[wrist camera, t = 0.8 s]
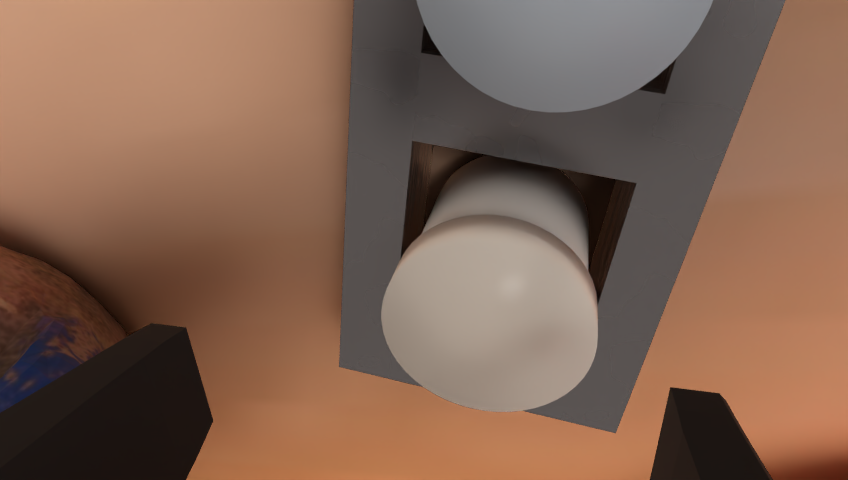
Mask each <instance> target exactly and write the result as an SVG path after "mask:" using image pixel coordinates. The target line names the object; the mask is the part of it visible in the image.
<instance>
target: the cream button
mask: <svg viewBox="0 0 848 480" xmlns="http://www.w3.org/2000/svg"><path fill="white" fill-rule="evenodd" d="M588 239H589V220H588V212H587V208H586V204H585V202H584V200H583V197H582V195H581V193H580V192H579V190H578V188H577V187H576V186H575V184H574V183H573V182H572V181H571V180H570V179H569V178H568V177H567V176H566V175H565V174H564V173H563V172H562V171H560V170H559V169H557V168H554V167H549V166H543V165H538V164H533V163H528V162H522V161H517V160H512V159H506V158H501V157H496V156H490V155H487V156H483V157H480V158H478V159H475V160H472V161H471V162H469V163H467V164H465V165H463V166H462V167H461V168H459V169H458V170H457V171H456V172H455V173H454V174H453V175H452V176H450V178H449V179H448V180H447V181H446V183H445V184H444V186H443V188H442V189H441V191H440V193H439V195H438V198H437V200H436V202H435V205H434V207H433V209H432V211H431V214H430V216H429V218H428V221H427V223H426V225H425V227H424V230H423V232H422V234H421V235H420V236H419V237H418V238H417V239H416V240H415V241H413V242H412V243H411V245H410V246H409V247H408V248H407V250H406V251H405V252H404V254H403V256H402V258H401V260H400V261H399V263H398V266H397V268H396V270H395V272H394V274H393V276H392V279H391V281H390V283H389V285H388V287H387V290H386V292H385V295H384V298H383V303H382V309H381V321H382V328H383V333H384V336H385V339H386V342H387V344H388V346H389V349H390V351H391V353H392V354H393V356H394V357H395V359H396V360H397V362H398V363H399V364H400V366H401V367H402V368H403V369H404V370H405V371H406V372H407V373H408V374H409V375H410V376H411V377H412V378H413V379H414V380H415V381H416V382H418V383H419V384H420V385H421V386H423V387H424V388H426V389H427V390H429V391H430V392H432V393H434V394H435V395H437V396H439V397H441V398H443V399H445V400H448V401H450V402H453V403H455V404H458V405H461V406H465V407H468V408H472V409H478V410H483V411H492V412H514V411H523V410H528V409H533V408H537V407H540V406H543V405H546V404H548V403H551V402H553V401H555V400H557V399H559V398H561V397H562V396H564V395H565V394H567V393H568V392H570V391H571V390H572V389H573V388H574V387H576V386H577V385H578V384H579V382H580V381H581V380H582V379H583V378H584V377H585V375H586V374H587V372H588V370H589V369H590V367H591V365H592V362H593V360H594V358H595V354H596V349H597V340H598V304H597V295H596V290H595V287H594V283H593V280H592V278H591V276H590V274H589V272H588Z"/></svg>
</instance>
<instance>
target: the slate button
mask: <svg viewBox="0 0 848 480" xmlns="http://www.w3.org/2000/svg"><path fill="white" fill-rule="evenodd" d="M712 2H713V0H417V5H418V8H419V11H420V14H421V16H422V19H423V22H424V24H425V27H426V29H427V31H428V33H429V35H430V37H431V39H432V41H433V42H434V44H435V45H436V47H437V48H438V50H439V51H440V53H441V54H442V56H443V57H444V58H445V59H446V61H447V62H448V63H449V64H450V65H451V66H452V68H453V69H454V70H455V71H456V72H457V73H458V74H460V75H461V76H462V77H463V78H464V79H465V80H466V81H467V82H469V83H470V84H471V85H473V86H474V87H476V88H477V89H479V90H480V91H481V92H483V93H485V94H487V95H489V96H491V97H493V98H494V99H496V100H499V101H501V102H504V103H506V104H509V105H512V106H515V107H519V108H523V109H527V110H532V111H541V112H572V111H580V110H586V109H590V108H594V107H598V106H602V105H605V104H607V103H610V102H613V101H615V100H618V99H620V98H623V97H624V96H626V95H628V94H630V93H632V92H634V91H636V90H638V89H639V88H641V87H642V86H644V85H645V84H647V83H648V82H650V81H651V80H652V79H654V78H655V77H657V76H658V75H659V74H660V73H661V72H662V71H663V70H665V69H666V68H667V67H668V66H669V65H670V64H671V63H672V62H673V61H674V60H675V59H676V58H677V57H678V56H679V55H680V53H681V52H682V51H683V50H684V49H685V48H686V47H687V45H688V44H689V42H690V41H691V40H692V38H693V37H694V35H695V34H696V32H697V31H698V30H699V28H700V26H701V24H702V22H703V21H704V19H705V17H706V15H707V13H708V11H709V9H710V7H711V4H712Z"/></svg>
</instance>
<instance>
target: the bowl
mask: <svg viewBox="0 0 848 480" xmlns="http://www.w3.org/2000/svg"><path fill="white" fill-rule="evenodd" d="M126 337H127V335H126V333H125V331H124V329H123V328H122V327H121V325H120V324H119V323H118V322H117V321H116V320H115V319H114V318H113V317H112V316H111V315H110V314H109V313H108V311H107V310H106V309H105V308H104V307H103V306H102V305H101V304H100V303H99V302H98V301H97V300H96V299H94V298H93V297H92V296H91V295H90V294H89V293H87V292H86V291H85V290H84V289H83V288H82V287H81V286H79V285H78V284H77V283H76V282H75V281H74V280H73V279H71V278H70V277H69V276H67V275H65V274H64V273H62V272H60V271H59V270H57V269H55V268H54V267H52V266H50V265H48V264H47V263H45V262H43V261H42V260H39V259H36V258H33V257H31V256H28V255H25V254H22V253H19V252H16V251H13V250H10V249H7V248H4V247H2V246H0V413H1V412H2V411H4V410H6V409H8V408H9V407H11V406H13V405H14V404H16V403H18V402H19V401H21V400H23V399H24V398H26V397H28V396H29V395H31V394H33V393H34V392H36V391H38V390H39V389H41V388H43V387H44V386H46V385H47V384H49V383H51V382H52V381H54V380H56V379H57V378H59V377H61V376H62V375H64V374H66V373H67V372H69V371H71V370H72V369H74V368H76V367H77V366H79V365H81V364H82V363H84V362H85V361H87V360H89V359H90V358H92V357H94V356H95V355H97V354H99V353H100V352H102V351H104V350H105V349H107V348H109V347H110V346H112V345H114V344H115V343H117V342H119V341H121V340H122V339H124V338H126Z"/></svg>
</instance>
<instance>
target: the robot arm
mask: <svg viewBox="0 0 848 480" xmlns="http://www.w3.org/2000/svg"><path fill="white" fill-rule="evenodd" d="M212 422H213V418H212V415H211V411H210V408H209V404H208V401H207V398H206V394H205V391H204V387H203V384H202V381H201V377H200V374H199V370H198V367H197V364H196V360H195V357H194V353H193V350H192V346H191V343H190V340H189V336H188V333H187V329H186V328H185V327H177V326H169V325H161V324H153V323H151V324H150V325H148V326H146V327H144V328H142V329H140V330H138V331H136V332H135V333H133V334H131V335H129V336H127V337H126V338H124V339H122V340H121V341H119V342H117V343H115V344H114V345H112V346H110V347H109V348H107V349H105V350H104V351H102V352H100V353H99V354H97V355H95V356H94V357H92V358H90V359H89V360H87V361H85V362H84V363H82V364H81V365H79V366H77V367H76V368H74V369H72V370H71V371H69V372H67V373H66V374H64V375H62V376H61V377H59V378H57V379H56V380H54V381H52V382H51V383H49V384H47V385H46V386H44V387H43V388H41V389H39V390H38V391H36V392H34V393H33V394H31V395H29V396H28V397H26V398H24V399H23V400H21V401H19V402H18V403H16V404H14V405H13V406H11V407H9V408H8V409H6V410H4V411H2V412H1V413H0V480H186V478H187V476H188V474H189V472H190V470H191V468H192V466H193V464H194V462H195V460H196V458H197V456H198V454H199V452H200V449H201V447H202V445H203V443H204V440H205V438H206V436H207V433H208V431H209V429H210V427H211V424H212ZM650 480H773V479H772V477H771V476H770V474H769V473H768V471H767V469H766V468H765V466H764V465H763V463H762V461H761V460H760V458H759V456H758V455H757V453H756V451H755V450H754V448H753V447H752V445H751V443H750V442H749V440H748V438H747V436H746V435H745V433H744V431H743V430H742V428H741V426H740V425H739V423H738V421H737V419H736V418H735V416H734V414H733V412H732V411H731V409H730V407H729V405H728V404H727V402H726V400H725V399H724V398H723V397H722V396H721V395H720V394H719V393H712V392H704V391H695V390H687V389H679V388H671V387H670V391H669V396H668V400H667V405H666V409H665V414H664V419H663V423H662V428H661V432H660V437H659V441H658V446H657V450H656V455H655V459H654V464H653V468H652V473H651V478H650Z"/></svg>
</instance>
